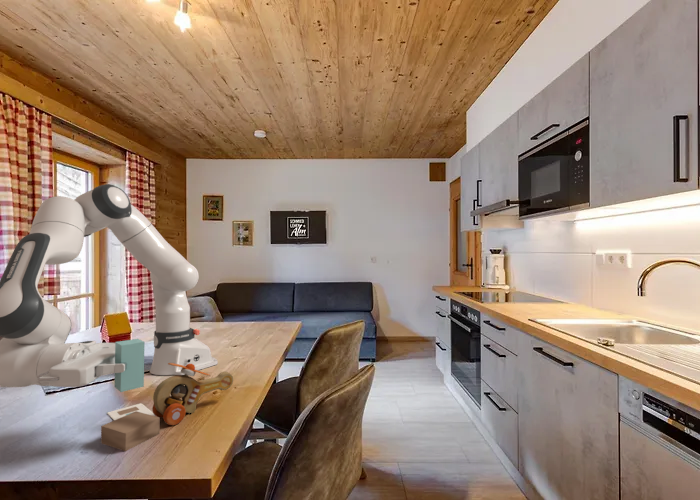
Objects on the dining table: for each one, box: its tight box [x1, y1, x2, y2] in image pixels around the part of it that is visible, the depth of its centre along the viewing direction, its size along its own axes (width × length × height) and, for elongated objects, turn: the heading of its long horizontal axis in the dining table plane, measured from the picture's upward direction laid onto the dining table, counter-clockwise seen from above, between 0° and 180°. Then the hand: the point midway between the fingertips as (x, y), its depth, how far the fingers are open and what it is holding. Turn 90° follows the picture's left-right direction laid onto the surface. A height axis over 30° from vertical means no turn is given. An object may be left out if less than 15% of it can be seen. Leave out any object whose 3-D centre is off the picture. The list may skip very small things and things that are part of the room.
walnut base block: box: [100, 411, 161, 452], centre depth 79 cm, size 8×8×4 cm
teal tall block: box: [114, 338, 145, 393], centre depth 79 cm, size 4×4×10 cm
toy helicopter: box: [151, 363, 234, 426], centre depth 93 cm, size 8×21×14 cm, turn 140°
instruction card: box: [106, 402, 157, 421], centre depth 91 cm, size 8×11×1 cm
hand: (134, 361), depth 80 cm, fingers closed on teal tall block, 6 cm apart
